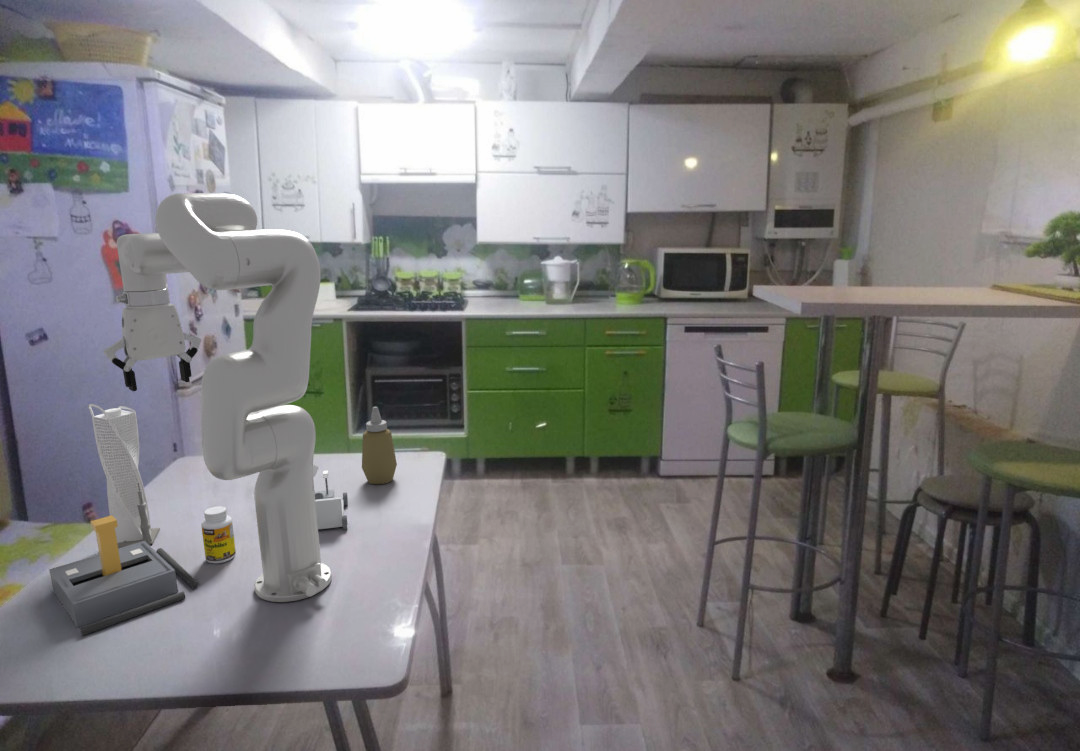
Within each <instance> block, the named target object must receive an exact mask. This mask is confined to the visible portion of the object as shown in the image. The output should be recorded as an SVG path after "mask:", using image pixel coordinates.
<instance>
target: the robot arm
mask: <svg viewBox="0 0 1080 751" xmlns="http://www.w3.org/2000/svg"><path fill="white" fill-rule="evenodd" d="M155 225H156V230H157V232H151V233H150V232H149V233H131V234H129V233H128V234H127V233H126V234H122V235H120V236H119V237H117V240H116V248H117V254H118V260H119V261H118V262H119V267H120V274H121V280H122V286H123V287H122V289H123V291H122V293H121V294H119V295H116V296H115V299H116V303H118V304H120V303H121V304H124V305H125V307H123V308H122V311H121V312H122V314H121V332H122V335H121V336H122V337H121V338H120V339H119V340H118V341H115V342H114V343H113V344H111V345H109V346H108V347H106V348H105V349H103V351H102V352H103V354H104V355H105V356H106V358H108V360H109V361H110V362H111V364H113V365H114V366H116V367H117V368H119V369H121V370H122V372H123V379H124V380H123V381H124V384H125V385H124V386H125V388H128V390H129V391H131V392H137V391H138V387H137V386H138V385H137V379H136V372H135V371H134V370H133V367H134V365H135V364H136V362H137V361H138V362H139V361H148V360H155V359H161V358H162V359H163V358H169V357H175V356H177V357H178V358H179V359H180V360H179V362H178V366H179V367H178V368H179V374H180V379H181V381H183V382H185V383H190V382H191V380H190V378H191V377H192V370H191V362H192V361H193V358H194V357H195V355H196V354H198V350H199V347H200V345H201V342H202V339H201V338H200V337H197V336H195V335H192V334H189V333H185V332H183V327H182V324H181V323H182V322H181V321H180V320H181V319H180V315H179V312H178V309H177V307H176V304H174V303H170V293H169V286H168V279H167V274H168V275H170V274H180V273H181V274H182V273H190V274H191V275H192V277H193V278H194V279H195V280H196V281H197V282H198V283H199V284H201V285H202V286H203V287H205V288H206V289H211V290H214V291H230V290H238V289H245V288H246V289H247V288H248V289H249V288H257V287H263V286H271V290H270V292H269V293H267V295H266V296H265V298H264V299H263V300H262V302H261V303H260V305H259V307H258V309H257V311H256V313H255V315H254V318H253V325H252V326H253V327H252V328H253V335H252V336H253V338H252V344H251V346H250V347H249V348H247V349H246V350H241V351H234V352H229V353H226V354H222V355H219V356H216V357H215V358H213V359H212V360H210V362H209V363H208V364H207V365H206V367H205V369H204V372H203V374H202V378H201V390H200V393H201V395H200V396H201V397H200V398H201V401H200V402H201V403H200V404H201V407H200V408H201V410H200V412H201V414H200V415H201V416H200V417H201V420H200V421H201V424H200V425H201V426H200V428H201V429H200V430H201V431H200V432H201V451H202V457H203V461H204V464H205V466H206V469H207V470H208V471H209V473H210V474H211V475H212V476H213V477H215V478H217V479H218V480H222V481H233V480H237V479H241V478H245V477H249V476H251V475H254V474H258V475H257V477H256V481H255V485H254V490H253V492H254V493H253V494H254V505H255V516H256V523H257V525H256V526H257V533H258V540H259V541H258V542H259V550H260V551H259V552H260V559H261V560H260V561H261V568H262V573H261V574H260V575H259V576H258V577H257V578H256V580H255V582H254V584H253V586H254V592H255V595H256V596H257V597H259V598H260V599H261V600H265V601H267V602H272V603H288V602H289V603H290V602H295V601H300V600H304V599H307V598H310V597H313V596H314V595H317V594H318V593H320V592H322V591H323V590H324V589H326V588H327V587H328V586H329V585H330V583H331V581H332V570H331V568H330V567H329V566H328V565H326V564H325V563H323V562H322V559H321V549H320V536H319V529H318V525H317V514H316V503H315V492H316V491H315V482H314V478H313V465H314V457H315V456H314V455H315V447H316V438H317V436H316V426H315V422H314V420H313V417H312V416H311V414H310V413H309V412H308V411H307V410H306V409H304V408H303V407H301V406H298V405H295V404H294V405H293V404H290V403H294V402H297V401H298V400H300V399H301V398H302V397H304V395H305V394H306V391H307V389H308V386H309V378H310V367H311V366H310V365H311V364H310V363H311V348H312V346H311V345H312V325H313V317H314V312H315V308H316V305H317V302H318V301H317V300H318V297H319V292H320V285H321V266H320V260H319V257H318V254H317V252H316V250H315V248H314V246H313V244H312V242H310V240H309V239H308V238H307V237H306V236H304V235H303V234H301V233H299V232H296V231H293V230H292V231H291V230H287V229H277V228H275V229H274V228H273V229H272V228H269V229H268V228H264V229H257V226H258V217H257V212H256V210H255V209H254V207H253V206H252V204H251V203H250V202H249V201H247V200H246V199H245V198H242V197H241V196H239V195H236V194H232V193H224V192H213V193H212V192H202V193H201V192H183V193H182V192H181V193H173V194H169V195H168V196H166V197H165V198H163V199H162V200H161V202H160V203H159V205H158V207H157V210H156V214H155ZM185 341H188V342H190V346H189V348H187V350H186V342H185ZM121 349H123V353H124V355H125V358H124V359H123V360H121V359H119V358H118V357H117V355H116V353H117V352H118V351H119V350H121Z"/></svg>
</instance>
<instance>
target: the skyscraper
mask: <svg viewBox="0 0 1080 751" xmlns="http://www.w3.org/2000/svg"><path fill="white" fill-rule="evenodd" d="M92 407H94V408H96V409H98V410H100V411H101V413H100V414H97V415H94V411H93V409H92ZM87 408H88V410H89V412H90V416H91V420H92V421H91V422H92V425H93V426H92V427H93V428H92V429H93V433H94V439H95V445H96V449H97V452H98V453H97V454H98V456H99V460H100V463H101V468H102V469H103V472H104V475H105V477H106V494H107V503H108V512H109V516H111V515H112V516H113V517H114V518H115V519H116V520H117V525H118V527H115V532H116V538H117V544H118V549H119V548H122V547H125V546H129V545H132V544H135V543H139V542H142V541H145V542H146V543H147V544H148V545H149V546H152V545H153V544H154V543H155V540H156V538H157V537H158V534H159V532H160V531H161V528H160V527H155V528H152V527H151V524H152V523H151V520H150V511H149V507H148V506H149V505H148V499H147V496H146V495H147V494H146V491H145V487H144V484H143V479H142V476H141V474H140V471H139V460H140V439H139V437H140V436H139V427H138V421H137V420H138V419H137V413H136V410H135V409H133V408H131V407H129V406H124V405H120V406H118V407H116V408H114V407H113V408H109V409H105V410H104V409H103V408H102V407H101V406H99V405H97V404H95V403H89V404H88V406H87ZM151 544H152V545H151Z"/></svg>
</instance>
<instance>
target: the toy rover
mask: <svg viewBox="0 0 1080 751" xmlns="http://www.w3.org/2000/svg"><path fill="white" fill-rule="evenodd" d="M318 471H319V466H317V465H315V464H313V479H314V478H315V476H316V475H317V473H318ZM322 477H323V479H324V481H325V490H321V491H320V490H319V491H314V492H315V503H316V514H317V525H318V530H324V529H325V530H326V529H333V528H340V527H341V528H342V531H347V530H348V527H347V525H348V516H347V515H344V513H345V512H344V510H345V509H344V508H345V507H347V506H348V505H349V504H348V503H349V500H348V492H342V497H341V496H339V497H338V496H336V497H335V490H334V489H329V485H328V478H329V470H323V472H322Z"/></svg>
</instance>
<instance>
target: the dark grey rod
mask: <svg viewBox="0 0 1080 751" xmlns="http://www.w3.org/2000/svg"><path fill="white" fill-rule="evenodd" d="M155 551H156V552H157V553H158V554H159V555H160V556H161V557H162V558H163V559H164V560H165V561H166V562H167V563H168V564H169V565H170V566H171V567H172V568H173V569H174V570H175V573H176V575H178V576H180V578H182V580H184V582H185V583H186V584H188V585H189V586H190V587H191V588H192V589H197V588H198V587H199V582H198V581H197V580H196V579H195V578H194V577H193V576H192V575H191V574H190V573H189V572H187V571H186V569H184V568H183V567H182V565H180V564H179V563H178V562H177V561H176V560H175V559H174V558H173V557H172V556H170V555H169V554H168V552H166V551H165V549H163V548H162V547H159V548H157V549H156V550H155Z"/></svg>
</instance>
